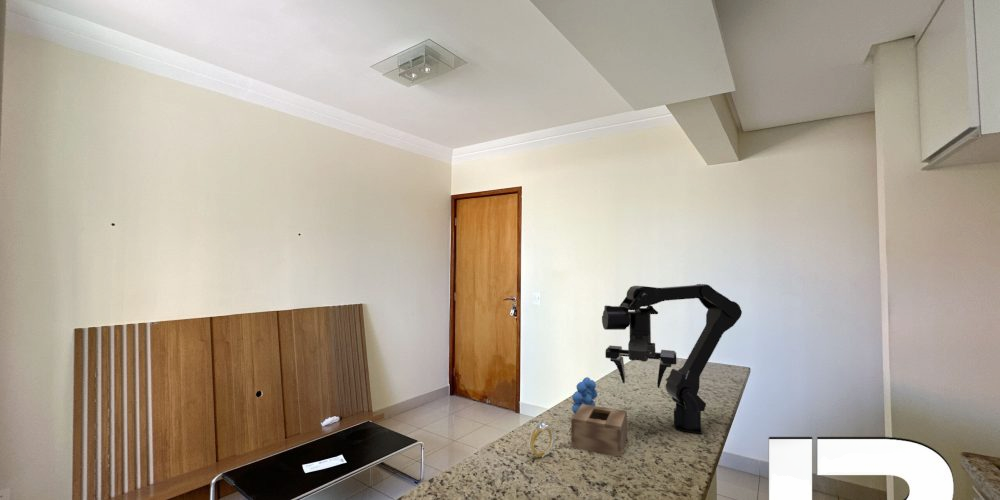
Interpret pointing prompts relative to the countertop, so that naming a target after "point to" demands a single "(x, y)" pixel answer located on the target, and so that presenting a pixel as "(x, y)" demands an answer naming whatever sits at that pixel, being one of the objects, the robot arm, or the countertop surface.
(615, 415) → the box
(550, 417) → the countertop surface
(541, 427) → the ring
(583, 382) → the grapes
